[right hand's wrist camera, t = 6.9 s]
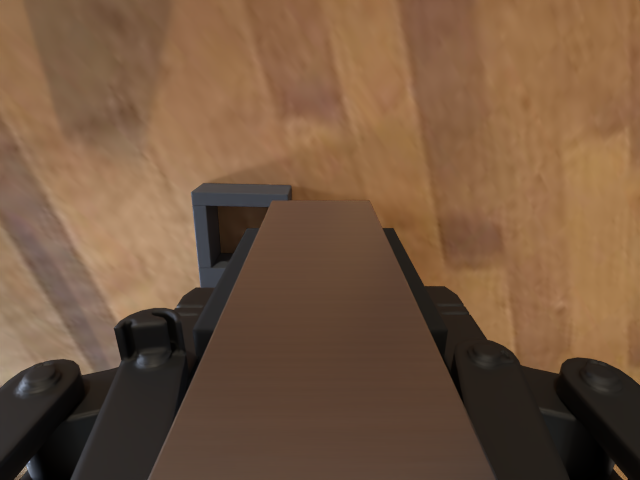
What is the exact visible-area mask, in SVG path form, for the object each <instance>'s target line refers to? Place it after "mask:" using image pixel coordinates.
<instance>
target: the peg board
mask: <svg viewBox="0 0 640 480" xmlns="http://www.w3.org/2000/svg"><path fill="white" fill-rule="evenodd" d="M191 196H192V205H193V216H194V226H195V236H196V246H197V256H198V266H199V276H200V286H201V288H215V287H216V285H217V283H218V281H219V279H220V278H221V276H222V274H223V272H224V270H225V268H226V266H227V265H228V263H229V261H230V259H231V257H232V255H233V254H232V253H221V248H220V235H219V222H218V209H217V206H242V207H269V206H270V204H271V202H272V201H291V185H257V184H217V183H203V184H202V185H200V186H199V187H198V188H196V189H195V190H194V191H192V192H191Z"/></svg>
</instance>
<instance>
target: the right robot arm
mask: <svg viewBox="0 0 640 480" xmlns="http://www.w3.org/2000/svg"><path fill="white" fill-rule="evenodd" d="M259 229H260V228H247V229H246V231H245V233H244V235H243V237H242V239H241V240H240V242H239V244H238V246H237V248H236V250H235V252H234V253H233V255H232V257H231V259H230V261H229V263H228V265H227V266H226V268H225V270H224V272H223V274H222V276H221V278H220V279H219V281H218V283H217V285H216V287H215V288H195V289H193V290H192V291H190V292H189V293H187V294H186V295H184V296H183V297H182V299H181V300H180V302H179V303H178V305H177V308H175V309H174V310H171V309H167V308H152V309H147V310H142V311H139V312H137V313H134V314H131V315H129V316H127V317H126V318H124V319H123V320H121V321H120V322H119V323H118V324H117V325H116V326H115V328H114V331H115V335H116V339H117V343H118V348H119V352H120V356H121V363H120V366H119V367H117V368H114V369H110V370H106V371H101V372H96V373H91V374H87V375H81V371H80V368H79V365H77V364H76V363H75V362H74V361H71V360H65V359H59V360H50V361H46V362H43V363H39V364H36V365H33V366H32V367H30V368H27V369H25V370H23V371H21V372H20V373H18V374H17V375H16V376H14V377H13V378H11V379H10V380H9V381H7V382H6V383H5V384H4V385H3V386H2V387H1V388H0V480H14V479H15V478H16V476H17V475H18V474H19V473H20V472H21V470H22V469H23V468H24V467H25V466H26V467H27V469H28V470H27V472H26V473H25V474H24V475H23V476H22V478H21V479H19V480H148V478H149V476H150V473H151V471H152V469H153V467H154V464H155V462H156V460H157V458H158V455H159V453H160V451H161V449H162V446H163V444H164V442H165V440H166V437H167V435H168V433H169V431H170V428H171V426H172V424H173V422H174V419H175V417H176V415H177V413H178V410H179V408H180V406H181V404H182V401H183V399H184V397H185V395H186V393H187V390H188V388H189V386H190V384H191V381H192V379H193V377H194V375H195V372H196V370H197V368H198V366H199V363H200V361H201V359H202V357H203V354H204V352H205V350H206V348H207V345H208V343H209V341H210V339H211V336H212V334H213V332H214V330H215V327H216V325H217V323H218V321H219V318H220V316H221V314H222V312H223V309H224V307H225V305H226V303H227V300H228V298H229V296H230V294H231V291H232V289H233V287H234V285H235V283H236V280H237V278H238V276H239V274H240V271H241V269H242V267H243V265H244V262H245V260H246V258H247V256H248V253H249V251H250V249H251V247H252V244H253V242H254V240H255V238H256V235H257V233H258V231H259ZM382 229H383V231H384V233H385V235H386V237H387V239H388V242H389V244H390V246H391V248H392V250H393V253H394V255H395V257H396V259H397V261H398V263H399V266H400V268H401V270H402V272H403V274H404V276H405V279H406V281H407V283H408V285H409V287H410V289H411V292H412V294H413V296H414V298H415V300H416V303H417V305H418V307H419V309H420V311H421V313H422V316H423V318H424V320H425V322H426V324H427V326H428V329H429V331H430V333H431V335H432V337H433V339H434V342H435V344H436V346H437V348H438V350H439V353H440V355H441V357H442V359H443V361H444V363H445V366H446V368H447V370H448V372H449V374H450V376H451V379H452V381H453V383H454V385H455V387H456V389H457V392H458V394H459V396H460V398H461V400H462V403H463V405H464V407H465V409H466V411H467V413H468V416H469V418H470V420H471V422H472V424H473V426H474V429H475V431H476V433H477V435H478V437H479V440H480V442H481V444H482V446H483V448H484V450H485V453H486V455H487V457H488V459H489V461H490V463H491V466H492V468H493V470H494V472H495V474H496V476H497V479H498V480H623V479H622V478H621V477H620V476H619V475H618V474H617V473H616V472H615V470H614V469H613V467H614V465H615V464H616V465H617V466H618V467H619V469H620V470H621V471H622V472H623V473H624V475H625V476H626V477H627V478H628V480H640V385H639V384H638V383H637V382H635V381H634V380H633V379H632V378H631V377H629V376H628V375H626V374H625V373H624V372H622V371H621V370H619V369H617V368H615V367H613V366H611V365H608V364H607V363H604V362H601V361H597V360H594V359H588V358H572V359H567V360H566V361H565V362H564V363H563V364H562V366H561V369H560V373H559V374H557V373H552V372H547V371H542V370H538V369H533V368H529V367H525V366H522V365H520V363H519V360H518V359H517V358H516V356H515V355H514V354H513V352H511V351H510V350H509V349H507V348H506V347H504V346H503V345H500V344H498V343H496V342H493V341H490V340H487V338H486V337H485V335H484V334H483V333H482V331H481V330H480V328H479V327H478V325H477V324H476V322H475V321H474V319H473V318H472V316H471V315H469V312H468V310H467V309H466V307H464V304H463V303H462V301H461V300H460V299H459V297H458V296H457V294H455V293H454V292H452V291H451V290H449V289H448V288H446V287H445V286H424V285H423V283H422V281H421V279H420V277H419V275H418V273H417V272H416V270H415V268H414V266H413V264H412V262H411V260H410V259H409V257H408V255H407V253H406V251H405V249H404V247H403V245H402V244H401V242H400V240H399V238H398V236H397V234H396V232H395V231H394V229H393V228H382Z"/></svg>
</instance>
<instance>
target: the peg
mask: <svg viewBox="0 0 640 480" xmlns="http://www.w3.org/2000/svg"><path fill="white" fill-rule="evenodd" d="M148 480H498V479H497V476H496V474H495V472H494V470H493V468H492V466H491V463H490V461H489V459H488V457H487V455H486V453H485V450H484V448H483V446H482V444H481V442H480V440H479V437H478V435H477V433H476V431H475V429H474V426H473V424H472V422H471V420H470V418H469V416H468V413H467V411H466V409H465V407H464V405H463V403H462V400H461V398H460V396H459V394H458V392H457V389H456V387H455V385H454V383H453V381H452V379H451V376H450V374H449V372H448V370H447V368H446V366H445V363H444V361H443V359H442V357H441V355H440V353H439V350H438V348H437V346H436V344H435V342H434V339H433V337H432V335H431V333H430V331H429V329H428V326H427V324H426V322H425V320H424V318H423V316H422V313H421V311H420V309H419V307H418V305H417V303H416V300H415V298H414V296H413V294H412V292H411V289H410V287H409V285H408V283H407V281H406V279H405V276H404V274H403V272H402V270H401V268H400V266H399V263H398V261H397V259H396V257H395V255H394V253H393V250H392V248H391V246H390V244H389V242H388V239H387V237H386V235H385V233H384V231H383V229H382V226H381V224H380V222H379V220H378V218H377V216H376V213H375V211H374V209H373V207H372V205H371V202H370V201H272V202H271V204H270V206H269V208H268V211H267V213H266V215H265V217H264V220H263V222H262V224H261V226H260V229H259V231H258V233H257V235H256V238H255V240H254V242H253V244H252V247H251V249H250V251H249V253H248V256H247V258H246V260H245V262H244V265H243V267H242V269H241V271H240V274H239V276H238V278H237V280H236V283H235V285H234V287H233V289H232V291H231V294H230V296H229V298H228V300H227V303H226V305H225V307H224V309H223V312H222V314H221V316H220V318H219V321H218V323H217V325H216V327H215V330H214V332H213V334H212V336H211V339H210V341H209V343H208V345H207V348H206V350H205V352H204V354H203V357H202V359H201V361H200V363H199V366H198V368H197V370H196V372H195V375H194V377H193V379H192V381H191V384H190V386H189V388H188V390H187V393H186V395H185V397H184V399H183V401H182V404H181V406H180V408H179V410H178V413H177V415H176V417H175V419H174V422H173V424H172V426H171V428H170V431H169V433H168V435H167V437H166V440H165V442H164V444H163V446H162V449H161V451H160V453H159V455H158V458H157V460H156V462H155V464H154V467H153V469H152V471H151V473H150V476H149V478H148Z"/></svg>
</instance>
